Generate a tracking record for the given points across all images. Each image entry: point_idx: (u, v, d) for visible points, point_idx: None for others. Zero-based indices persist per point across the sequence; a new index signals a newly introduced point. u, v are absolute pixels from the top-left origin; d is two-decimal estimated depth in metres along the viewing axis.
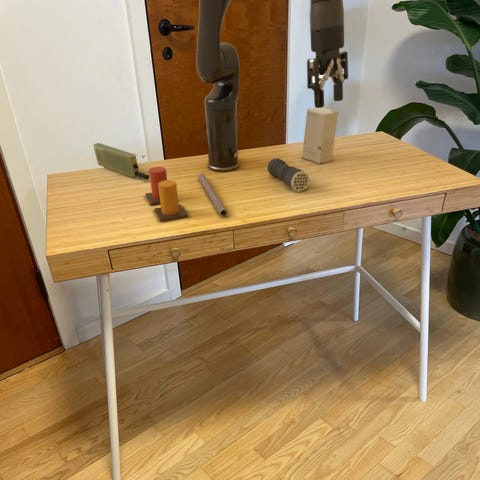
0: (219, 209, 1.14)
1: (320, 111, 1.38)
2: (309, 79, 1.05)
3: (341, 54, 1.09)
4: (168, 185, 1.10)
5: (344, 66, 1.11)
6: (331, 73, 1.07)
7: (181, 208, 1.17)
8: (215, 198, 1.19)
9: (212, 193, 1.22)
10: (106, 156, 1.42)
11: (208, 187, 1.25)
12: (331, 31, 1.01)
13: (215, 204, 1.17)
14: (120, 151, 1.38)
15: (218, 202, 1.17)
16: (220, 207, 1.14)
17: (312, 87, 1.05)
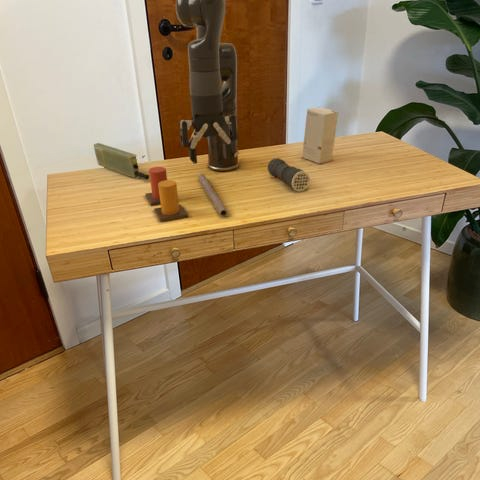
0: (219, 209, 1.14)
1: (320, 111, 1.38)
2: (181, 137, 1.13)
3: (228, 117, 1.14)
4: (168, 185, 1.10)
5: (231, 129, 1.15)
6: (208, 134, 1.14)
7: (181, 208, 1.17)
8: (215, 198, 1.19)
9: (212, 193, 1.22)
10: (106, 156, 1.42)
11: (208, 187, 1.25)
12: (199, 100, 1.07)
13: (215, 204, 1.17)
14: (120, 151, 1.38)
15: (218, 202, 1.17)
16: (220, 207, 1.14)
17: None
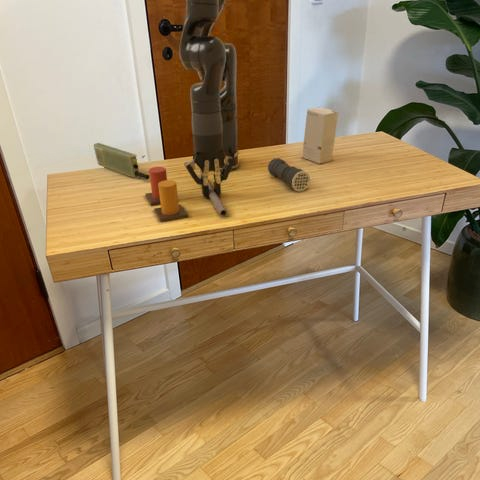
0: (219, 209, 1.14)
1: (320, 111, 1.38)
2: (193, 176, 1.20)
3: (228, 158, 1.20)
4: (168, 185, 1.10)
5: (226, 169, 1.21)
6: (210, 170, 1.19)
7: (181, 208, 1.17)
8: (215, 198, 1.19)
9: (212, 193, 1.22)
10: (106, 156, 1.42)
11: None
12: (201, 139, 1.12)
13: (215, 204, 1.17)
14: (120, 151, 1.38)
15: (218, 202, 1.17)
16: (220, 207, 1.14)
17: (196, 182, 1.21)
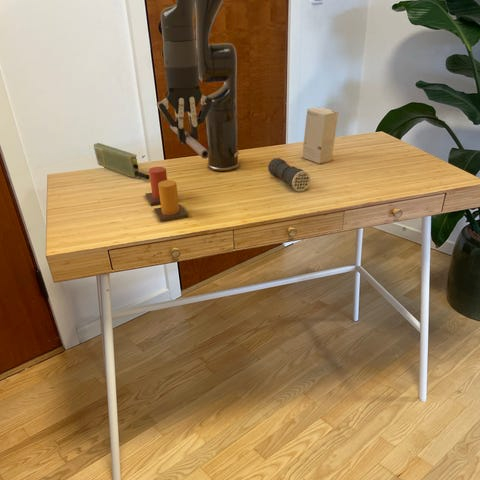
0: (200, 150, 1.03)
1: (320, 111, 1.38)
2: None
3: (205, 97, 1.09)
4: (168, 185, 1.10)
5: (203, 110, 1.10)
6: (185, 110, 1.08)
7: (181, 208, 1.17)
8: (193, 141, 1.08)
9: (189, 137, 1.11)
10: (106, 156, 1.42)
11: None
12: (174, 72, 1.01)
13: (194, 147, 1.06)
14: (120, 151, 1.38)
15: (198, 144, 1.06)
16: (201, 148, 1.03)
17: (170, 124, 1.10)
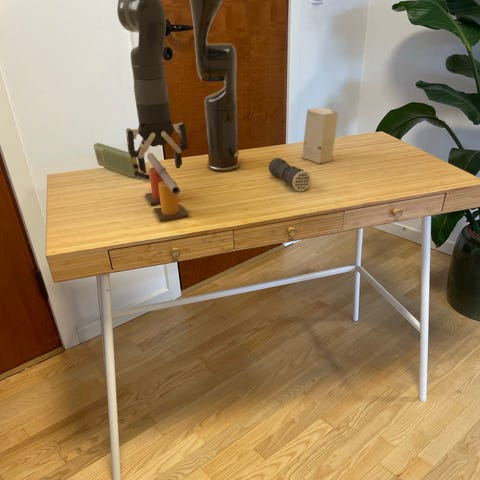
0: (171, 186, 1.05)
1: (320, 111, 1.38)
2: (129, 146, 1.10)
3: (178, 126, 1.10)
4: None
5: (181, 137, 1.11)
6: (157, 144, 1.10)
7: (181, 208, 1.17)
8: (166, 176, 1.10)
9: (162, 171, 1.13)
10: (106, 156, 1.42)
11: (158, 166, 1.16)
12: (144, 109, 1.03)
13: (166, 182, 1.08)
14: (120, 151, 1.38)
15: (169, 180, 1.08)
16: (172, 184, 1.05)
17: (130, 154, 1.10)
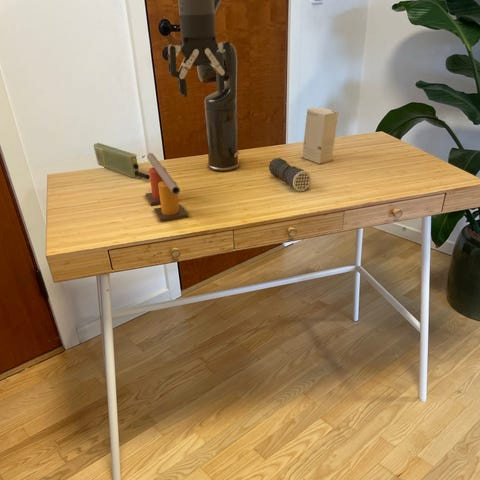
0: (171, 186, 1.05)
1: (320, 111, 1.38)
2: (170, 65, 1.03)
3: (222, 44, 1.03)
4: None
5: (225, 57, 1.04)
6: (200, 63, 1.03)
7: (181, 208, 1.17)
8: (166, 176, 1.10)
9: (162, 171, 1.13)
10: (106, 156, 1.42)
11: (158, 166, 1.16)
12: (189, 20, 0.96)
13: (166, 182, 1.08)
14: (120, 151, 1.38)
15: (169, 180, 1.08)
16: (172, 184, 1.05)
17: (171, 74, 1.03)
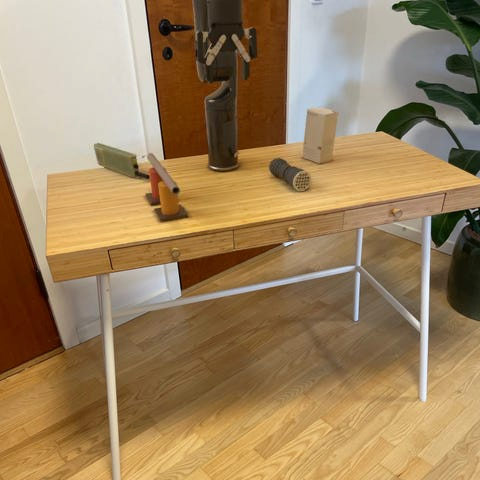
0: (171, 186, 1.05)
1: (320, 111, 1.38)
2: (196, 52, 1.03)
3: (248, 30, 1.03)
4: None
5: (251, 44, 1.04)
6: (226, 49, 1.03)
7: (181, 208, 1.17)
8: (166, 176, 1.10)
9: (162, 171, 1.13)
10: (106, 156, 1.42)
11: (158, 166, 1.16)
12: (217, 5, 0.96)
13: (166, 182, 1.08)
14: (120, 151, 1.38)
15: (169, 180, 1.08)
16: (172, 184, 1.05)
17: (197, 61, 1.03)
